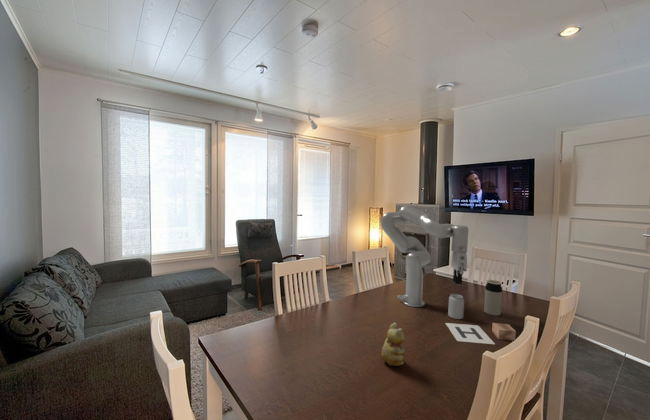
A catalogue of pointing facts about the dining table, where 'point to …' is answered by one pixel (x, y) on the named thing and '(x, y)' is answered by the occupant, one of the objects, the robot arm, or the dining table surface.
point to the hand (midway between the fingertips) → (457, 282)
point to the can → (456, 306)
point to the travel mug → (493, 297)
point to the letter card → (469, 333)
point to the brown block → (503, 331)
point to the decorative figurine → (393, 346)
